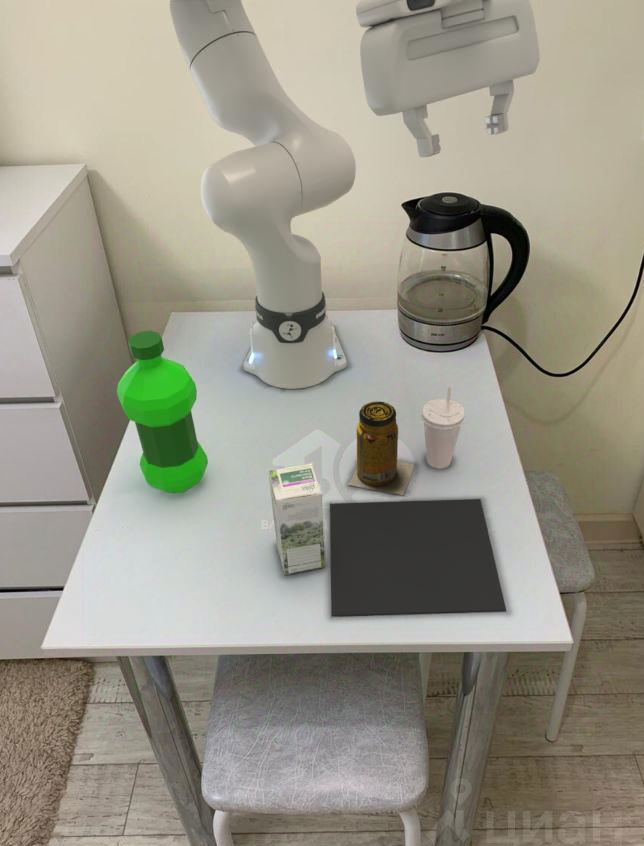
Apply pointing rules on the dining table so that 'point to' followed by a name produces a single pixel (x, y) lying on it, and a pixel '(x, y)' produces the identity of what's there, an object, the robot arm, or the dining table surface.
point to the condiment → (379, 451)
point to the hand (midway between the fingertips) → (464, 144)
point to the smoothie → (441, 429)
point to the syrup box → (298, 518)
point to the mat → (412, 558)
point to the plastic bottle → (162, 415)
